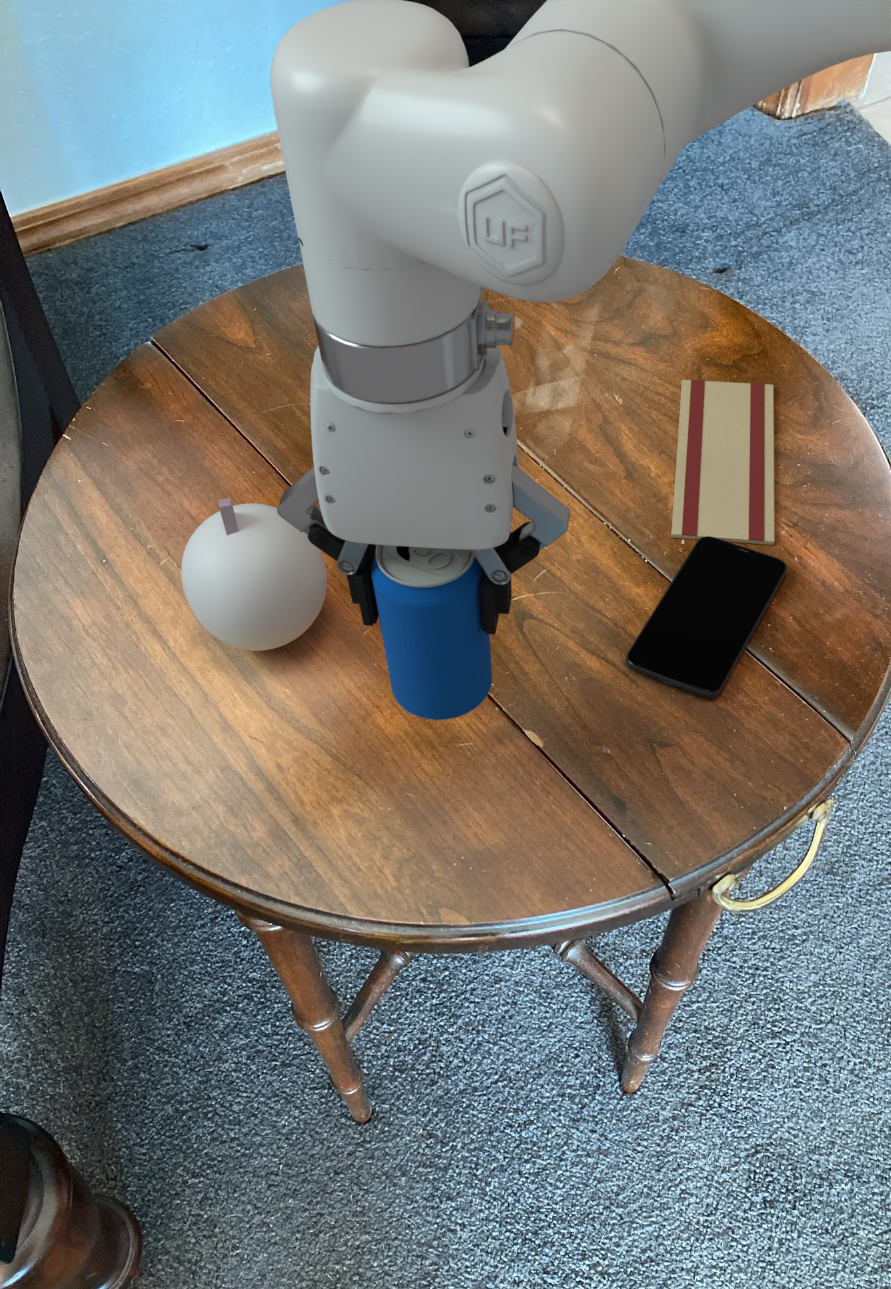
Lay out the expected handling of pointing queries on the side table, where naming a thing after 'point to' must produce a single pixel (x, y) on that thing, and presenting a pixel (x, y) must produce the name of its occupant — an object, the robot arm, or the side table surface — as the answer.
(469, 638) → the beverage can
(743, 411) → the tea towel
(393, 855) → the side table surface
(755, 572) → the smartphone
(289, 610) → the ornament
